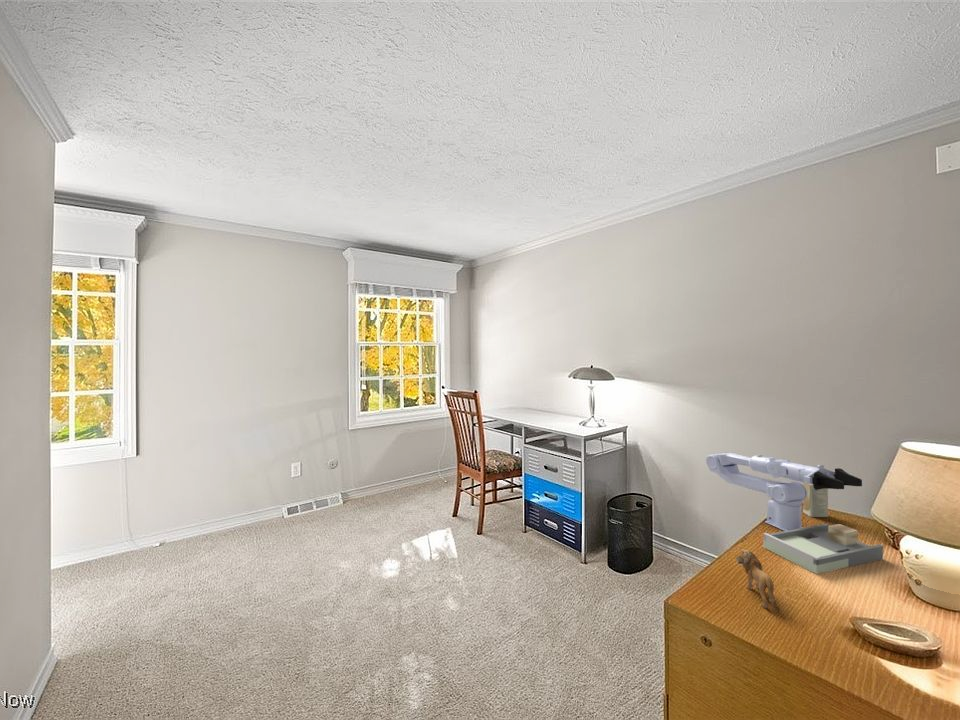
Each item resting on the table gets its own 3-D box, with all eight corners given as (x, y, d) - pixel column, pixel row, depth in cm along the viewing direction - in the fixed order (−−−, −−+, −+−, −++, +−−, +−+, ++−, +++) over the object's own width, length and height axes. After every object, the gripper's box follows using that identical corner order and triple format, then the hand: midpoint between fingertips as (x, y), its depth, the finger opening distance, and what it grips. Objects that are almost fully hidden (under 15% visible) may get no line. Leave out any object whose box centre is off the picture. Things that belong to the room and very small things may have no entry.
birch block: (827, 538, 133) (828, 526, 133) (839, 536, 134) (839, 523, 134) (845, 545, 128) (846, 532, 128) (857, 543, 130) (857, 530, 130)
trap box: (763, 547, 133) (763, 533, 133) (825, 535, 140) (825, 522, 140) (816, 574, 117) (816, 558, 117) (882, 559, 125) (883, 544, 125)
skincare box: (820, 512, 159) (820, 480, 158) (828, 517, 154) (829, 484, 154) (801, 512, 159) (802, 480, 159) (809, 517, 155) (810, 484, 154)
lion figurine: (732, 579, 115) (732, 547, 115) (751, 579, 115) (752, 546, 115) (768, 613, 101) (769, 577, 100) (791, 613, 101) (792, 577, 100)
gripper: (789, 464, 138) (834, 473, 125) (821, 459, 142) (868, 468, 129) (790, 485, 138) (835, 497, 125) (822, 480, 142) (869, 491, 129)
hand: (852, 484), depth 127 cm, fingers open, 7 cm apart
